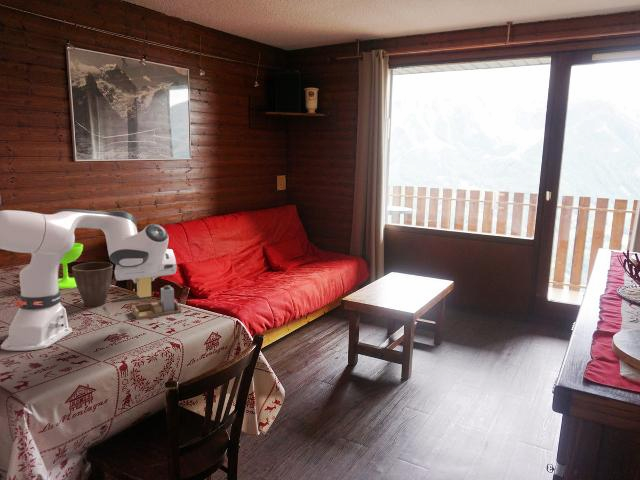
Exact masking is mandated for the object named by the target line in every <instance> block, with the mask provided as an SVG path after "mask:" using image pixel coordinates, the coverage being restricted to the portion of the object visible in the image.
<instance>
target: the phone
mask: <svg viewBox="0 0 640 480" xmlns="http://www.w3.org/2000/svg"><path fill="white" fill-rule="evenodd" d="M151 297H152V296H149V297H141V298H140V297H139V296H138V295H137V296H131V297H124V298H119V299H112V300H111V301H110V302H111V304H112V303H121V302H127V301H135V300H142V299H149V298H150V299H151Z"/></svg>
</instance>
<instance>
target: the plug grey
mask: <svg viewBox="0 0 640 480" xmlns="http://www.w3.org/2000/svg"><path fill="white" fill-rule="evenodd" d="M174 299H175V289H174V287H172V286H171V285H170V284H168V285H164V286H163V287H160V301H161V307H162V311H163V312H170V311H174Z"/></svg>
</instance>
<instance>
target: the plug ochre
mask: <svg viewBox="0 0 640 480" xmlns="http://www.w3.org/2000/svg"><path fill="white" fill-rule="evenodd" d="M138 280H139V281H138V283H136V295H137V296H139V297H140V298H141V297H152V281H151V277H146V278H138Z"/></svg>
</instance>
